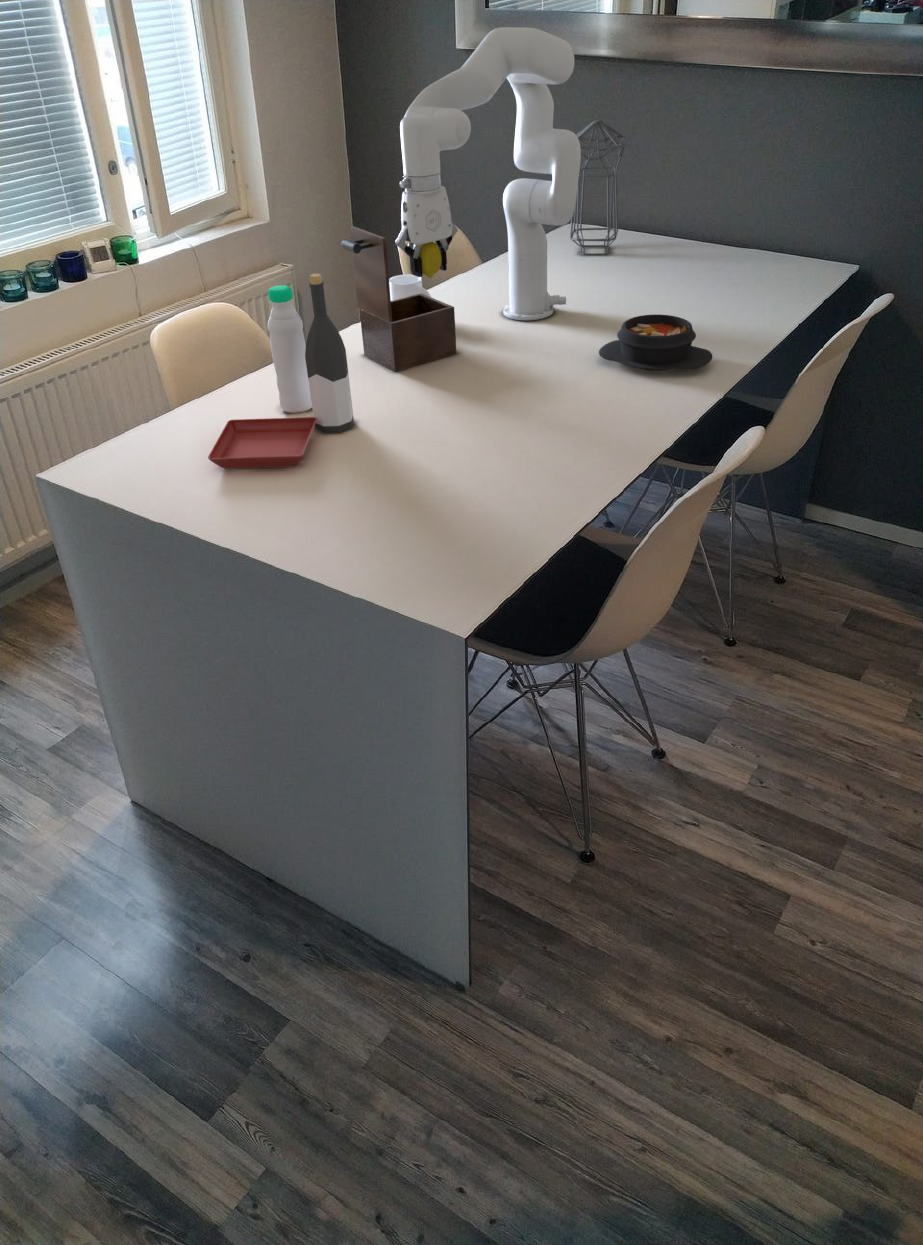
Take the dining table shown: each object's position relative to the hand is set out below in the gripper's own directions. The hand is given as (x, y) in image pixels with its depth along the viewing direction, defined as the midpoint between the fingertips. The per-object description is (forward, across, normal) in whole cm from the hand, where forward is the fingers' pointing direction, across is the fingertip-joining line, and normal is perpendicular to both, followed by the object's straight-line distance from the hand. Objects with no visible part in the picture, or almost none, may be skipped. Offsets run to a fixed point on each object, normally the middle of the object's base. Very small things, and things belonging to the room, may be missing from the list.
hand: (429, 271), depth 216 cm
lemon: (+2, 0, 0) cm, 2 cm away
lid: (+1, -8, +10) cm, 13 cm away
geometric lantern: (+22, +87, +44) cm, 100 cm away
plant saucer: (+21, -50, -15) cm, 56 cm away
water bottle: (+21, -35, 0) cm, 41 cm away
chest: (+21, 0, +10) cm, 23 cm away
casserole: (+22, +37, -32) cm, 53 cm away
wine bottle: (+21, -34, -13) cm, 42 cm away
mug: (+22, +13, +29) cm, 38 cm away
